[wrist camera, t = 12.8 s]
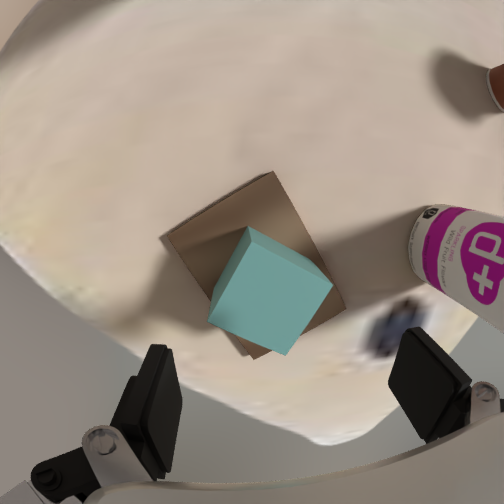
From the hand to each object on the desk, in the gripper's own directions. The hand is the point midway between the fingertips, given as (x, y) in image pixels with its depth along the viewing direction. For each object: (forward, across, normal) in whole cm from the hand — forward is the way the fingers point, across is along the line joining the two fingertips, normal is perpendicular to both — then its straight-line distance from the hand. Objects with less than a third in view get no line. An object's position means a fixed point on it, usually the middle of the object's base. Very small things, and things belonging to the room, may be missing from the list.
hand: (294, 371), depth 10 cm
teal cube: (+14, 0, +1) cm, 14 cm away
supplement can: (+15, -18, -1) cm, 24 cm away
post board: (+15, 0, +1) cm, 15 cm away
